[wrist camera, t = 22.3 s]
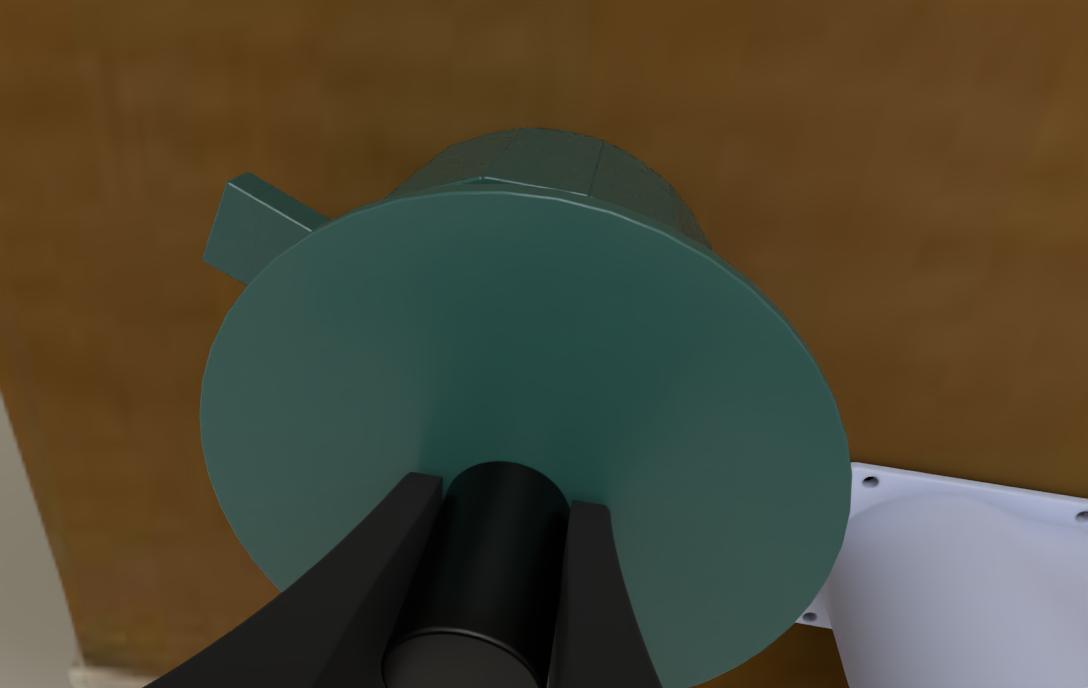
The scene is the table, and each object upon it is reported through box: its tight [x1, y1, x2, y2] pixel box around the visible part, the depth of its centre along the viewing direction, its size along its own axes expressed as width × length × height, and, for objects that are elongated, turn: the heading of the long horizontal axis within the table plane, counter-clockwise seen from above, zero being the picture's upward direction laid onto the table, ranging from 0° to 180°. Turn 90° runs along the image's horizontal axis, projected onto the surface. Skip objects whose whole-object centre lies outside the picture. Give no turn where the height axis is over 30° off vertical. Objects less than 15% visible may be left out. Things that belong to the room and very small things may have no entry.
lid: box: [199, 184, 852, 688], centre depth 11 cm, size 12×12×5 cm
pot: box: [202, 127, 713, 285], centre depth 19 cm, size 11×17×6 cm
